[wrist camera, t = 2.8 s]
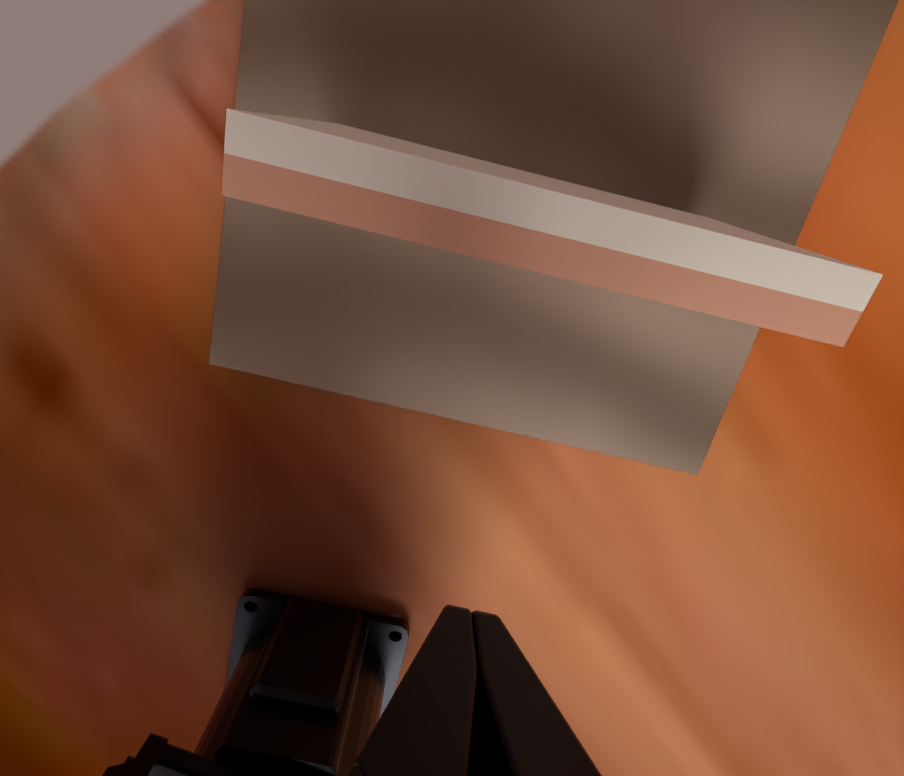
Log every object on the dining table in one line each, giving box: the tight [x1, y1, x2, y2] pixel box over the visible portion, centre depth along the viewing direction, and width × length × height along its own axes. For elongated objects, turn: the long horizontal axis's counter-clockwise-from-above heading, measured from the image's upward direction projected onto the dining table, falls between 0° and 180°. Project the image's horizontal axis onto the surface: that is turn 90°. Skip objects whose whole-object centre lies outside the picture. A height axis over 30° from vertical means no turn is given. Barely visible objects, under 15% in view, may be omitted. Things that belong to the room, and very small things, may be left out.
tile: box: [221, 109, 883, 347], centre depth 12 cm, size 7×10×1 cm
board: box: [209, 0, 898, 475], centre depth 16 cm, size 18×16×1 cm
